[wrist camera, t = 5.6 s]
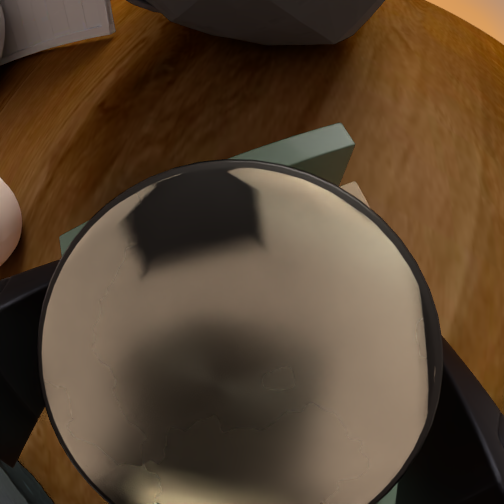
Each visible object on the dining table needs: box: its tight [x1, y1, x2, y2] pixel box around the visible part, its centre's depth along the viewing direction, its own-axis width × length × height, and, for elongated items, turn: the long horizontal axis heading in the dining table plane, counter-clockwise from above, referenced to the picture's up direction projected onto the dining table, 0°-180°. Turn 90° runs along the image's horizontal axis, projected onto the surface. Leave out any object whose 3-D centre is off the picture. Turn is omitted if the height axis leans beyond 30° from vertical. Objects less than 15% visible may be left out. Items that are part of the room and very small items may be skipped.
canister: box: [37, 159, 443, 504], centre depth 8 cm, size 5×5×10 cm
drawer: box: [59, 123, 371, 256], centre depth 12 cm, size 14×12×5 cm
